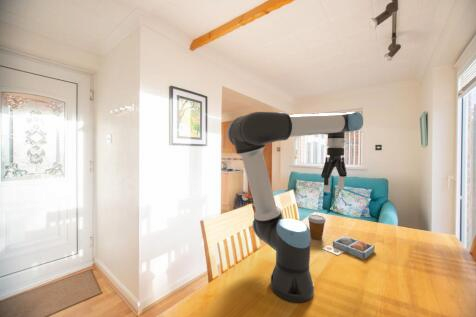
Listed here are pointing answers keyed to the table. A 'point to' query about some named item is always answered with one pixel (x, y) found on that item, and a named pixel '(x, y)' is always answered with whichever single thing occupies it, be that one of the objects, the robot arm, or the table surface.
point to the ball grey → (346, 241)
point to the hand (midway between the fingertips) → (334, 190)
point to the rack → (350, 250)
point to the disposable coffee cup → (316, 226)
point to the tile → (333, 250)
